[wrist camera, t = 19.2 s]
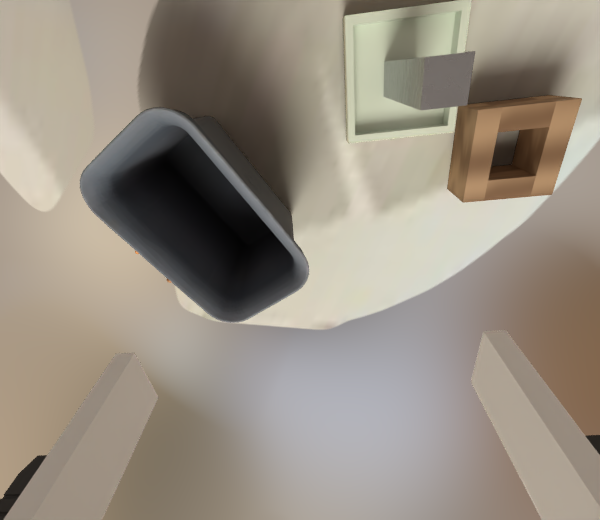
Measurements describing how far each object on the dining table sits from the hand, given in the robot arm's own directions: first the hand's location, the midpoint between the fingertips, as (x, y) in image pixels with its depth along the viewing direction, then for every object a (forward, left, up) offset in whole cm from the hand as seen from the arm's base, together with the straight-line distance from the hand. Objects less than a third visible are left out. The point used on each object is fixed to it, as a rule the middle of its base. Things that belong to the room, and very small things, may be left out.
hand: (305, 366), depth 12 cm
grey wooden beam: (-8, +11, -32) cm, 35 cm away
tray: (-8, +11, -33) cm, 35 cm away
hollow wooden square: (0, +23, -33) cm, 40 cm away
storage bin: (+3, -11, -33) cm, 35 cm away
